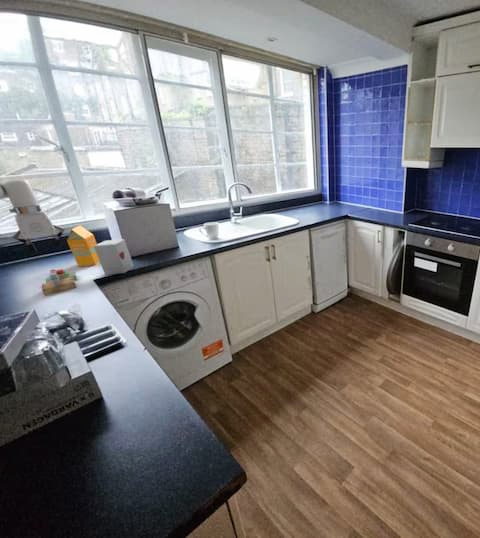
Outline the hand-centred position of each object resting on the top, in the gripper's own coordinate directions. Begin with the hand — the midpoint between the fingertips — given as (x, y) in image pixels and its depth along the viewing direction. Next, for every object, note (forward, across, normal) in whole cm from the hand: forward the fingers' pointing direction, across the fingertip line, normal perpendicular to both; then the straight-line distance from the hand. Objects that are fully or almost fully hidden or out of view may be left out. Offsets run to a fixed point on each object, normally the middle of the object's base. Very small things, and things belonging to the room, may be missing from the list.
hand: (47, 249), depth 130 cm
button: (+12, 0, 0) cm, 12 cm away
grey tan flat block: (+13, -1, -10) cm, 17 cm away
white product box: (+16, +21, -6) cm, 27 cm away
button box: (+16, 0, 0) cm, 16 cm away
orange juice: (+16, +12, +20) cm, 29 cm away
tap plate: (+16, -1, -10) cm, 19 cm away
